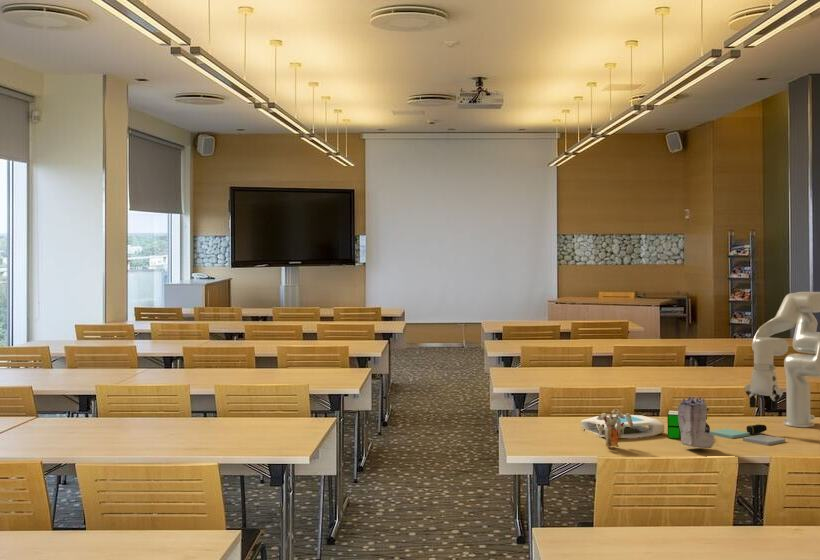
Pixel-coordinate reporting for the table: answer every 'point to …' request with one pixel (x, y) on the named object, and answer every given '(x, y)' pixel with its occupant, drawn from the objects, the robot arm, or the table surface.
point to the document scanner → (638, 424)
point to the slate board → (764, 439)
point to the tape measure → (756, 429)
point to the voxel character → (613, 427)
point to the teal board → (729, 433)
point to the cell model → (694, 423)
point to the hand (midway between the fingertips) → (763, 408)
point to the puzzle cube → (673, 425)
